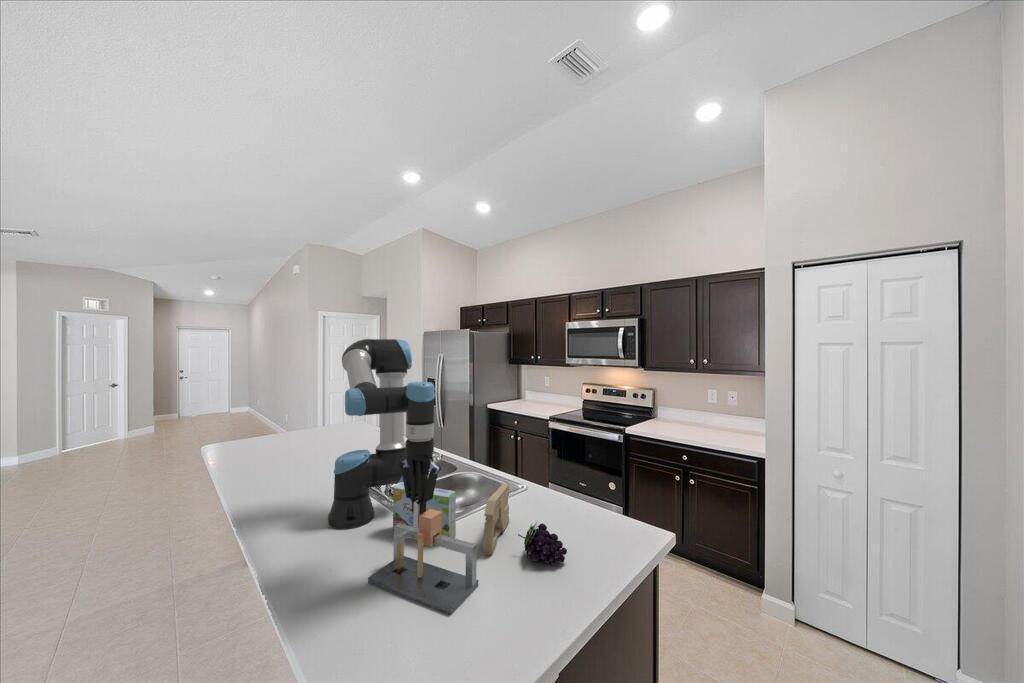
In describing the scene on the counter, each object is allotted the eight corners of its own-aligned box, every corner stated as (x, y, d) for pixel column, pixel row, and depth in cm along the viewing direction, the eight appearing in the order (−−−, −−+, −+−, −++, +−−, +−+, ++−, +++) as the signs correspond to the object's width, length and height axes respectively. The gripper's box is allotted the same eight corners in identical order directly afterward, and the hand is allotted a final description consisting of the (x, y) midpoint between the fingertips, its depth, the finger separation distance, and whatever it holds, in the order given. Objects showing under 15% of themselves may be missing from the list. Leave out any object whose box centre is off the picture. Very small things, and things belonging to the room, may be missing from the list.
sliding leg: (412, 575, 98) (413, 518, 99) (429, 562, 105) (430, 508, 105) (424, 579, 96) (425, 522, 97) (441, 565, 103) (442, 511, 103)
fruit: (558, 581, 104) (508, 559, 108) (565, 555, 114) (519, 536, 118) (567, 550, 102) (515, 528, 106) (573, 527, 112) (526, 508, 116)
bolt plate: (368, 583, 98) (368, 577, 98) (400, 560, 109) (400, 555, 109) (450, 615, 86) (451, 608, 86) (478, 585, 97) (478, 580, 97)
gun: (492, 558, 110) (493, 504, 112) (481, 556, 111) (483, 503, 112) (509, 527, 134) (510, 483, 135) (500, 526, 134) (501, 483, 136)
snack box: (391, 533, 125) (392, 487, 125) (401, 525, 130) (402, 481, 130) (447, 545, 117) (448, 496, 118) (456, 536, 123) (457, 489, 123)
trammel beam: (383, 571, 102) (383, 531, 103) (398, 560, 108) (398, 523, 108) (463, 599, 91) (464, 555, 91) (476, 586, 96) (476, 544, 96)
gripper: (392, 438, 104) (390, 525, 103) (430, 444, 98) (428, 536, 97) (410, 433, 110) (409, 515, 110) (447, 438, 104) (446, 524, 104)
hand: (418, 525), depth 103 cm, fingers closed
